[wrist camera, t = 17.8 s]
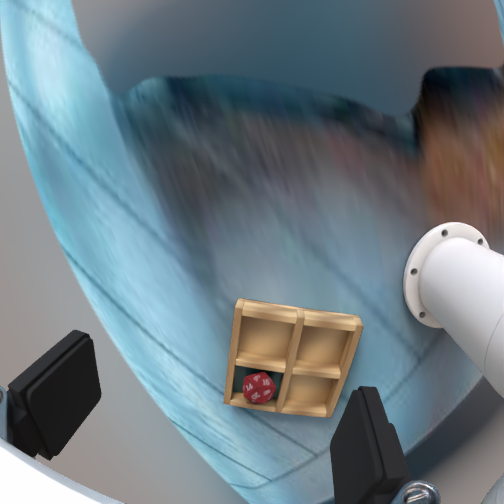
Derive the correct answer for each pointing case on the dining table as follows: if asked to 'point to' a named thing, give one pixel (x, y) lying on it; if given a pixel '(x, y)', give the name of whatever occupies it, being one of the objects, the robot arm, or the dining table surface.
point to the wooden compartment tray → (291, 356)
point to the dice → (258, 388)
